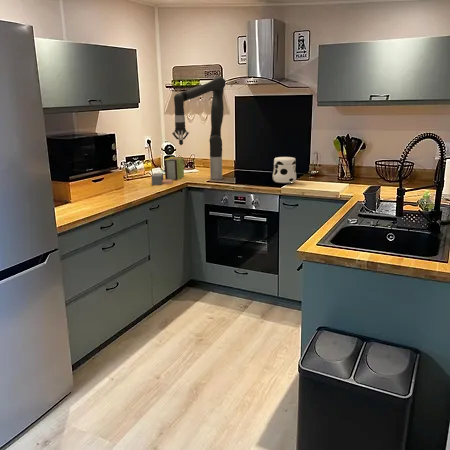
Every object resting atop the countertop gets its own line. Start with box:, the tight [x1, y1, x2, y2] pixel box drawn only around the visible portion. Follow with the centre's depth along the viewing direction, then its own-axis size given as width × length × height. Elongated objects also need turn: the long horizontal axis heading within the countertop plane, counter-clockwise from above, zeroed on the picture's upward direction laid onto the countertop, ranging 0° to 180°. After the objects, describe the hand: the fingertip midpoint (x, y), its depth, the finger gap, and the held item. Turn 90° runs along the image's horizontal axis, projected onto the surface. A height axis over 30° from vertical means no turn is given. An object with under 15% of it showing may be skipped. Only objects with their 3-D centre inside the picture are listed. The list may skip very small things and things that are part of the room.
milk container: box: [272, 156, 297, 185], centre depth 329 cm, size 17×17×18 cm
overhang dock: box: [150, 172, 164, 186], centre depth 337 cm, size 7×12×6 cm, turn 0°
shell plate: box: [162, 178, 174, 185], centre depth 338 cm, size 13×8×2 cm, turn 87°
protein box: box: [163, 156, 185, 181], centre depth 355 cm, size 10×15×16 cm
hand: (181, 144), depth 341 cm, fingers closed
